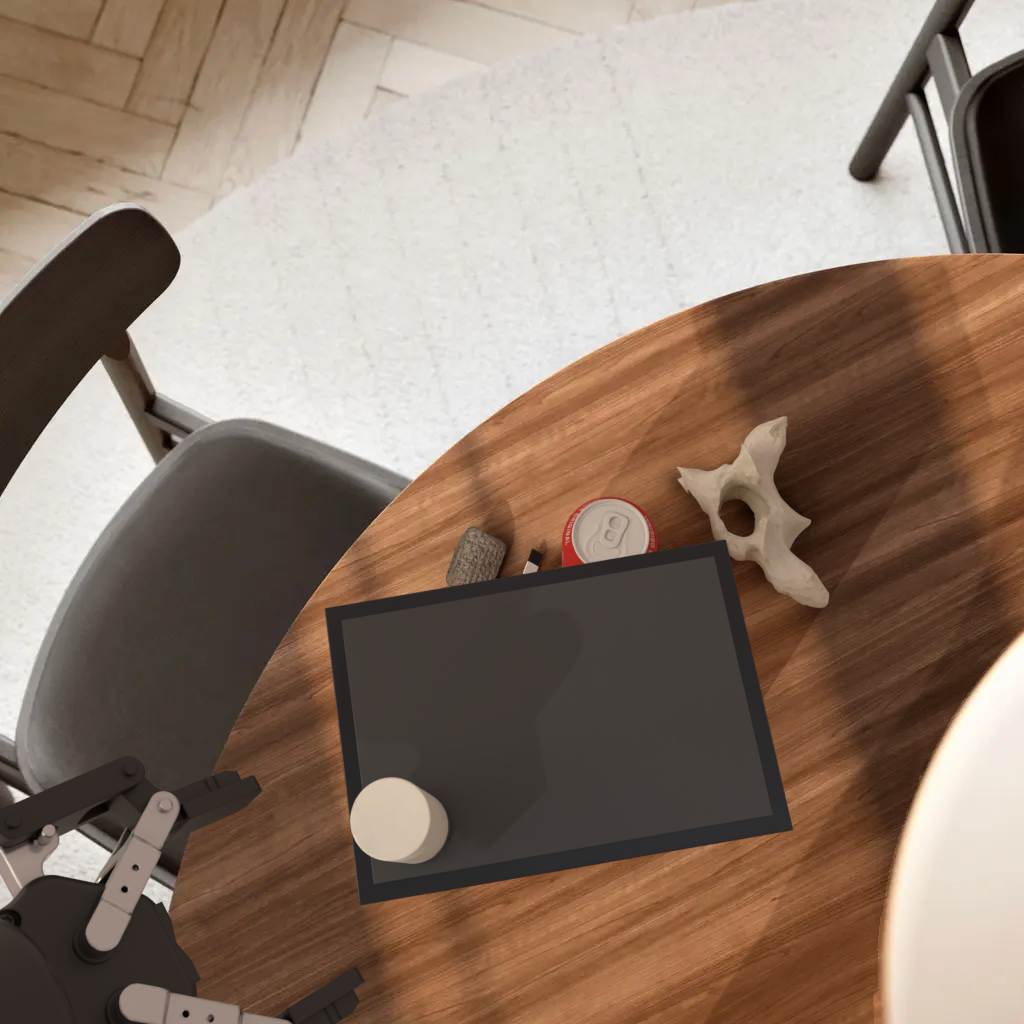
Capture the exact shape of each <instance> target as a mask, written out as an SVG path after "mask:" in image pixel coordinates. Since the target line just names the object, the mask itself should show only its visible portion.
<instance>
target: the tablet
mask: <svg viewBox="0 0 1024 1024" xmlns="http://www.w3.org/2000/svg"><path fill="white" fill-rule="evenodd" d="M731 559H732V558H731V556H730V555H729V551H728V546H727V542H726V540H725V539H724V540H718V541H716V540H713V541H707V542H701V543H696V544H690V545H684V546H679V547H673V548H667V549H660V550H657V551H655V552H649V553H643V554H637V555H631V556H625V557H620V558H614V559H608V560H602V561H596V562H591V563H585V564H579V565H573V566H567V567H562V566H561V567H556V568H551V569H550V568H549V569H544V570H539V571H538V570H537V572H532V573H527V574H523V573H521V574H515V575H510V576H504V577H498V578H495V579H492V580H486V581H480V582H474V583H468V584H463V585H457V586H451V587H450V586H446V587H439V588H434V589H428V590H422V591H417V592H411V593H405V594H400V595H393V596H388V597H382V598H376V599H370V600H364V601H359V602H353V603H347V604H341V605H335V606H330V607H325V608H324V616H325V624H326V632H327V641H328V649H329V658H330V666H331V675H332V684H333V693H334V700H335V708H336V716H337V717H336V718H337V726H338V734H339V742H340V750H341V758H342V759H341V761H342V769H343V776H344V784H345V794H346V801H347V810H348V818H349V821H350V816H351V810H352V807H353V804H354V802H355V800H356V798H357V797H358V795H359V794H360V792H361V791H362V790H363V789H364V788H365V787H366V786H368V785H369V784H371V783H373V782H374V781H377V780H379V779H383V778H389V777H396V778H401V779H405V780H407V781H409V782H411V783H413V784H414V785H416V786H418V787H419V788H421V789H422V790H424V791H426V792H427V793H429V794H430V795H432V796H433V797H435V798H436V799H438V800H439V801H440V802H441V803H442V804H443V806H444V807H445V809H446V811H447V813H448V816H449V821H450V833H449V837H448V840H447V843H446V845H445V846H444V848H443V849H442V851H441V852H440V853H439V854H438V855H437V856H435V857H434V858H433V859H431V860H429V861H426V862H423V863H418V864H410V863H400V862H391V861H383V860H378V859H375V858H373V857H371V856H369V855H368V854H366V853H365V852H364V851H363V850H362V849H361V848H360V847H359V846H358V844H357V843H356V841H355V839H354V837H353V834H352V831H351V830H350V836H351V843H352V844H351V845H352V854H353V862H354V870H355V878H356V886H357V887H356V889H357V894H358V895H357V896H358V903H359V906H366V905H371V904H377V903H385V902H389V901H395V900H400V899H407V898H413V897H418V896H419V897H420V896H424V895H430V894H436V893H440V892H441V893H442V892H447V891H452V890H458V889H459V890H460V889H464V888H470V887H475V886H482V885H487V884H493V883H499V882H505V881H510V880H515V879H522V878H528V877H533V876H540V875H544V874H550V873H556V872H561V871H568V870H573V869H579V868H586V867H590V866H596V865H602V864H608V863H615V862H619V861H624V860H625V861H626V860H631V859H636V858H642V857H649V856H653V855H659V854H665V853H671V852H676V851H683V850H689V849H695V848H700V847H706V846H712V845H718V844H723V843H729V842H735V841H740V840H747V839H752V838H758V837H763V836H768V835H775V834H780V833H787V832H791V831H792V832H793V830H794V826H793V822H792V818H791V814H790V809H789V805H788V801H787V796H786V791H785V789H784V784H783V779H782V775H781V771H780V766H779V762H778V758H777V757H778V756H777V753H776V748H775V744H774V740H773V737H772V736H773V735H772V731H771V727H770V724H769V723H770V722H769V719H768V714H767V710H766V705H765V702H764V698H763V694H762V693H763V692H762V688H761V684H760V681H759V675H758V671H757V666H756V663H755V659H754V654H753V651H752V646H751V641H750V637H749V633H748V627H747V624H746V621H745V620H746V619H745V616H744V612H743V607H742V602H741V598H740V594H739V590H738V589H739V588H738V585H737V582H736V578H735V577H736V576H735V572H734V568H733V564H732V560H731ZM349 826H350V828H349V829H351V825H350V824H349Z"/></svg>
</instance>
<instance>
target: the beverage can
mask: <svg viewBox="0 0 1024 1024" xmlns="http://www.w3.org/2000/svg"><path fill="white" fill-rule="evenodd" d="M658 542H659V541H658V533H657V530H656V526H655V524H654V523H653V521H652V519H651V517H650V516H649V515H648V514H647V513H646V511H645V510H644V509H643V508H642V507H640V506H639V505H637V504H636V503H634V502H632V501H630V500H628V499H625V498H622V497H617V496H602V497H601V496H600V497H597V498H594V499H591V500H588V501H587V502H584V503H582V504H581V505H580V506H579V507H578V508H576V509H575V510H574V511H573V513H572V514H571V515H570V516H569V518H568V519H567V521H566V522H565V525H564V527H563V532H562V537H561V567H567V566H573V565H579V564H585V563H591V562H596V561H602V560H608V559H614V558H620V557H625V556H631V555H637V554H643V553H649V552H655V551H658V548H659V547H658V545H659V544H658Z"/></svg>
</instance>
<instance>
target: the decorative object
mask: <svg viewBox="0 0 1024 1024" xmlns="http://www.w3.org/2000/svg"><path fill="white" fill-rule="evenodd" d="M787 427H788V416H780V417H777V418H775V419H772V420H768V421H766V422H763V423H760V424H758V425H757V426H755V427H754V428H753V429H752V430H751V431H750V432H749V434H748V435H747V436H746V438H745V439H744V442H743V443H741V444H740V451H739V454H738V456H737V458H736V459H735V460H734V461H733V463H732V464H729V463H724V464H722V465H721V466H719V467H717V468H715V469H713V470H712V469H711V470H704V469H701V468H692V467H691V468H688V467H687V468H685V467H681V466H676V469H677V470H678V472H679V473H680V476H681V477H679V478H677V481H678V482H679V484H680V485H681V486H682V488H683V489H684V490H685V492H686V494H689V492H690V494H691V495H692V496H693V497H694V498H695V499H696V501H697V503H698V504H699V506H700V508H701V511H702V512H704V513H705V514H706V515H708V516H709V521H710V527H711V533H712V536H713V538H714V541H718V540H724V539H725V540H726V542H727V546H728V551H729V555H730V558H731V559H734V560H735V561H739V562H745V561H750V562H755V563H757V564H758V565H759V567H761V568H762V570H763V573H764V577H765V579H766V580H767V581H768V582H769V583H770V584H772V586H773V588H774V589H775V590H776V592H778V594H782V595H787V596H789V597H791V599H793V600H794V601H796V602H797V603H799V604H800V605H803V606H808V607H812V608H816V609H823V608H825V607H827V605H829V599H830V592H829V591H828V590H827V588H826V587H825V585H824V584H823V583H822V581H821V580H820V577H819V576H818V575H817V573H816V572H815V571H814V569H813V568H812V567H811V566H809V565H808V564H806V562H804V561H802V559H800V558H799V557H797V556H796V555H795V554H794V553H793V552H792V551H791V548H792V546H793V543H794V542H795V540H796V539H797V537H799V535H800V534H801V533H802V532H803V531H804V530H805V529H807V528H808V527H809V526H810V525H811V523H812V520H811V519H810V518H807V517H805V516H802V515H801V514H799V512H796V511H795V510H794V509H793V508H792V507H790V506H789V504H788V503H787V502H785V500H784V499H783V498H782V497H781V495H780V493H779V491H778V489H777V486H776V484H775V481H774V475H775V472H776V469H777V466H778V464H779V461H780V457H781V455H782V454H783V452H784V451H785V447H786V446H787V442H786V441H787ZM732 500H738V501H739V500H740V501H742V502H744V503H745V504H747V506H748V507H749V508H750V510H751V511H752V512H753V514H754V515H753V517H754V519H755V520H754V529H753V532H752V534H750V535H748V536H739V535H736V534H734V533H731V532H729V530H728V529H727V528H726V525H725V523H724V521H723V520H722V518H721V517H720V516H721V515H722V512H721V510H722V507H723V505H724V503H726V502H728V501H732Z"/></svg>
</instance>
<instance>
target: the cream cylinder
mask: <svg viewBox="0 0 1024 1024" xmlns="http://www.w3.org/2000/svg"><path fill="white" fill-rule="evenodd" d="M350 825H351V828H350V832H351V831H352V834H353V837H354V839H355V841H356V843H357V844H358V846H359V847H360V848H361V849H362V850H363V851H364V852H365V853H366V854H368V855H369V856H371V857H373V858H375V859H378V860H383V861H391V862H400V863H410V864H418V863H423V862H426V861H429V860H431V859H433V858H434V857H435V856H437V855H438V854H439V853H440V852H441V851H442V849H443V848H444V846H445V845H446V843H447V840H448V837H449V833H450V821H449V816H448V813H447V811H446V809H445V807H444V806H443V804H442V803H441V802H440V801H439V800H438V799H436V798H435V797H433V796H432V795H430V794H429V793H427V792H426V791H424V790H422V789H421V788H419V787H418V786H416V785H414V784H413V783H411V782H409V781H407V780H405V779H401V778H396V777H389V778H383V779H379V780H377V781H374V782H373V783H371V784H369V785H368V786H366V787H365V788H364V789H363V790H362V791H361V792H360V794H359V795H358V797H357V798H356V800H355V802H354V804H353V807H352V810H351V816H350V820H349V826H350Z"/></svg>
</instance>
